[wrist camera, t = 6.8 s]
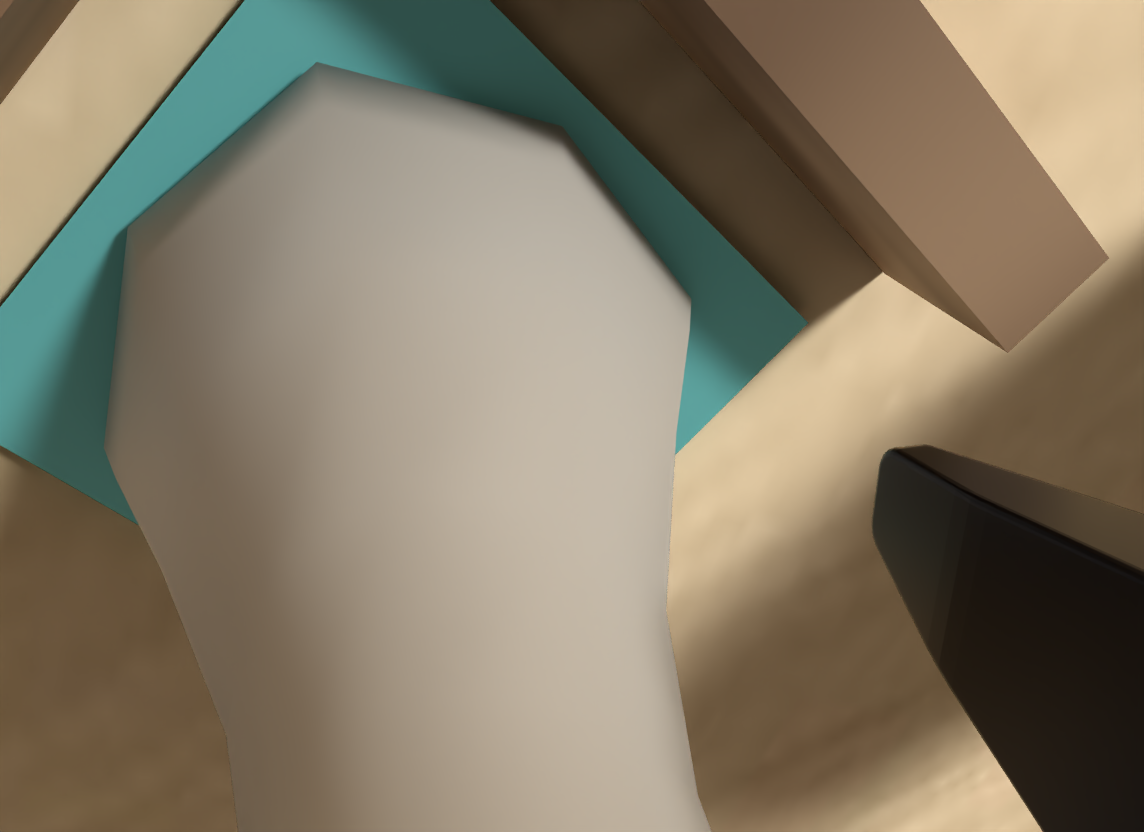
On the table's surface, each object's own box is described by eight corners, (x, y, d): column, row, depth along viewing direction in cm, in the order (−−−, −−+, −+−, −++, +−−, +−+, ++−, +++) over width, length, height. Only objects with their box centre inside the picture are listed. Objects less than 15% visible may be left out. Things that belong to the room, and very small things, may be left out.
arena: (965, 194, 14) (1108, 258, 11) (294, 854, 17) (285, 1027, 14) (307, -627, 9) (294, -849, 6) (-488, 500, 12) (-724, 666, 9)
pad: (799, 315, 14) (808, 323, 14) (431, 682, 16) (432, 695, 16) (353, -135, 11) (354, -137, 11) (-66, 391, 12) (-75, 401, 12)
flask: (5, 463, 13) (-770, 1718, 4) (282, -66, 11) (15, -5, 2) (490, 658, 15) (687, 1622, 7) (774, 269, 14) (1572, 902, 5)
